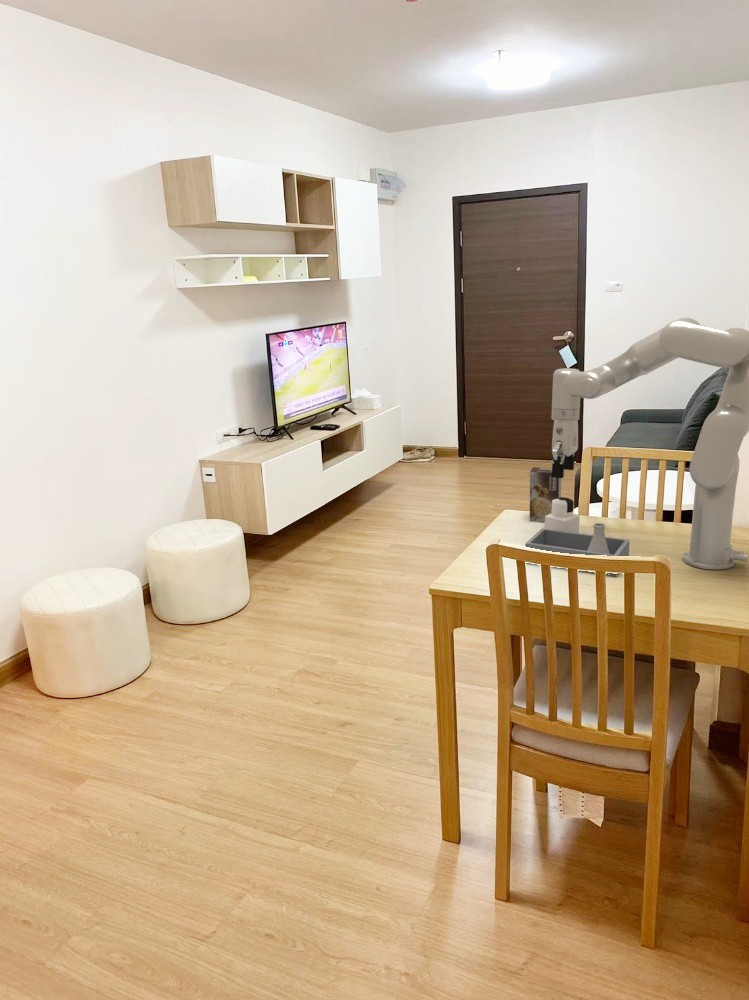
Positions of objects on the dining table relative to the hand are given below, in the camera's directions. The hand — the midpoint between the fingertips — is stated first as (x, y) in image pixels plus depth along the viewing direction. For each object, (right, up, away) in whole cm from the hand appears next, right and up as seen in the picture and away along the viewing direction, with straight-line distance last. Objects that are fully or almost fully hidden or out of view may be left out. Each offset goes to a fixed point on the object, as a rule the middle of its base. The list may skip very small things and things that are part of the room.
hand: (562, 473), depth 221 cm
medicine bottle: (+1, -19, +5) cm, 20 cm away
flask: (+6, -24, -15) cm, 29 cm away
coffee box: (0, -14, +23) cm, 27 cm away
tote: (+1, -24, -12) cm, 27 cm away
